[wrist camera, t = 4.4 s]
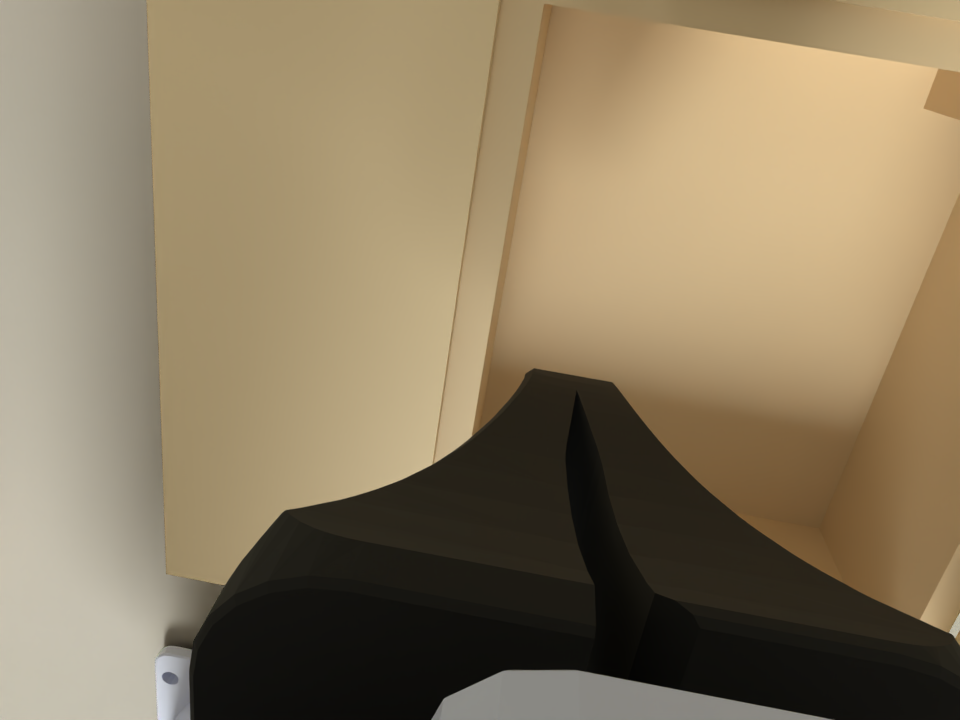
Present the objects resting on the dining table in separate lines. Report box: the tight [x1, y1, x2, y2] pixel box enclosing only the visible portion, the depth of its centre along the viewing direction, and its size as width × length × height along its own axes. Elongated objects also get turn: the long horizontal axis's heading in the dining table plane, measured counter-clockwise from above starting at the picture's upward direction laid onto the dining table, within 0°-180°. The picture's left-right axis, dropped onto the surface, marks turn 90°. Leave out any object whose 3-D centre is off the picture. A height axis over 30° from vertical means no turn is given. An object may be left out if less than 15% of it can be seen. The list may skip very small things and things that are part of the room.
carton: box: [146, 0, 960, 633], centre depth 14 cm, size 22×15×8 cm
